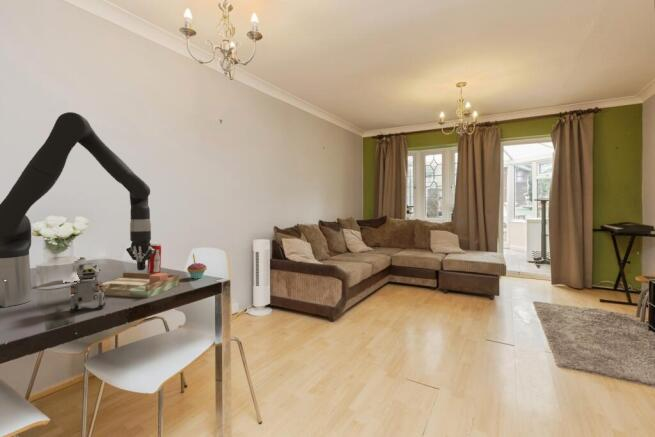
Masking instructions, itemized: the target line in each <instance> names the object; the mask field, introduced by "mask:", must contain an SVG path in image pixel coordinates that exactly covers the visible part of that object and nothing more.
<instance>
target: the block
mask: <svg viewBox="0 0 655 437" xmlns="http://www.w3.org/2000/svg"><path fill="white" fill-rule="evenodd" d="M168 275H169V272H168V273H166V272H165V273H164V272H160V273H156V274H153V275H150V276H149V282H150V284H153V283H156V282H159V281H161V280H164V279H167V278H168Z"/></svg>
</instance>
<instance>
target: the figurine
mask: <svg viewBox="0 0 655 437" xmlns="http://www.w3.org/2000/svg"><path fill="white" fill-rule="evenodd" d="M100 271H101V269H99V267H98V265H96V264H94V263H92V262H89V263H88V262H87V263H85V264H83V265H80V266H79V268H78V269H77V275H78V277H79V279H80V281H79V282H77V281H74V282H73V283H71V284H70V295H71V297H70V309H69V313H71V314H72V313H76V312H77V310H79V308H80V307H79V304H83V303H84V304H85V303H91V302H98V306H97V308H98V309H99V310H103V309H104V307H105V306H106V301H105V298H106V297H105V295H104V293H103V292H104V291H105V288H104V286H103V284H102V283H103V282H102V281H99V280H98V279H97V278H98V276H99V274H100ZM81 279H84V280H82V281H81ZM93 279H94V280H93ZM101 292H102V293H101Z"/></svg>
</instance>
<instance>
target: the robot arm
mask: <svg viewBox="0 0 655 437" xmlns="http://www.w3.org/2000/svg"><path fill="white" fill-rule="evenodd" d="M77 143H78V144H80V145H81V146H82V147H83V148H84V149H85V150H86V151H88V152H89V154H91V155H92V157H93V158H95V160H96V161H97V162H98V164H100V166H101V167H102V168H103V169H104V171H106V172H107V173H108V174H109V175H110V176H111V177H112V178H113V179H114V180H115V181H117V183H119V184H121V185H122V186H123V187H124V188H125V189H126V190H127V191H128V193H129V203H130V221H129V222H130V223H129V235H130V236H129V237H130V239H129V240H130V242H131V243H130V247H127V248H126V249H125V250H126V252H127V253H128V254H129V256H130V258H131V260H132V261H136V268H137V271H141V272H142V271H145V270H146V261H148V260H149V259H150V258H151V257H152V255H153V254H154V252H155V251H156V249H153V248H152V247H151V244H152V243H151V240H152V229H151V228H152V224H151V223H152V222H151V211H150V206H149V196H150V194H151V189H150V187H149V185H148V184H147V183H146V182H145V181H144V180H143V179H141V178H140V177H139V176H138V175H137V174H136V173H134V171H133V170H132V169H131V168H130V167H129V166H128V165H127V164H126V163H125V162H124V161H123V160H122V158H120V157H119V156H118V155H117V154H116V153H115V152H114V151H113V150H111V149H110V148H109V147H108V145H107V144H105V142H103V140H102V139H101V138H100V137H99V136H98V135H97V133H96V131H94V128H92V126H91V125H90V123H89V121H88V120H87V119H86V118H85V117H83V115H81V114H79V113H76V112H73V111H71V112H69V111H68V112H63V113H62V114H60V115H59V116H58V117H57V119H56V120H55V123H54V125H53V127H52V129H51V131H50V133H49V134H48V137H47V138H46V140H45V141H44V143H43V144H42V146H40V148H39V149H38V150H37V151H36V153H35V154H34V155H33V157H32V158H30V159H31V160H29V162H28V163H27V165H26V166H25V168H24V169H23V171H22V172H21V174H20V176H19V177H18V178H17V180H16V182H15V183H14V184H13V186H12V187H11V189H10V191H9V192H8V194H7V195H6V196H5V197H4V199H3V200H2V201H1V202H0V306H2V307H3V308H7V307H12V306H16V305H22V304H26V303H28V302H31V301H32V300H33V296H32V279H31V264H30V262H31V261H30V248H31V246H32V225H31V221H30V219H29V217H28V216H27V213H28V212H29V210H30V208H31V207H32V206H33V205H34V204H36V202H37V201H39V200H40V199H41V198H42V197H44V196H45V195H46V194H47V193H48V192H49V191H50V190H51V189H52V188H53V186H54V185H55V184H56V182H57V181H58V179H59V178H60V176H61V174H62V172H63V171H64V168H65V166H66V164H67V163H66V162H67V159H68V157H69V155H70V153H71V151H72V150H73V148H74V147H75V146H76V144H77ZM2 307H1V308H2Z"/></svg>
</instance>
